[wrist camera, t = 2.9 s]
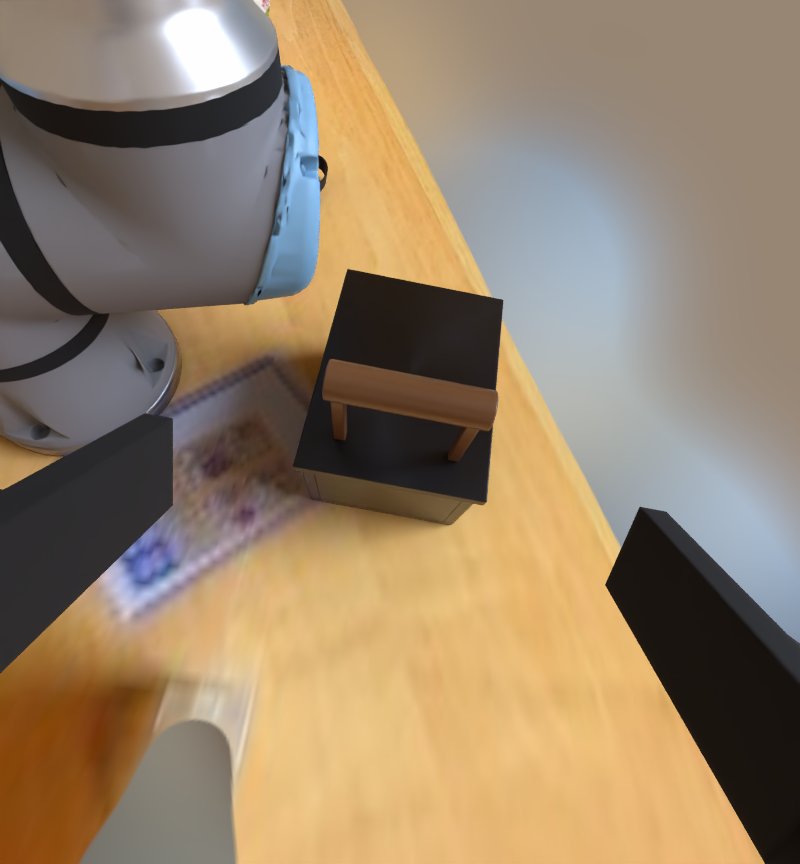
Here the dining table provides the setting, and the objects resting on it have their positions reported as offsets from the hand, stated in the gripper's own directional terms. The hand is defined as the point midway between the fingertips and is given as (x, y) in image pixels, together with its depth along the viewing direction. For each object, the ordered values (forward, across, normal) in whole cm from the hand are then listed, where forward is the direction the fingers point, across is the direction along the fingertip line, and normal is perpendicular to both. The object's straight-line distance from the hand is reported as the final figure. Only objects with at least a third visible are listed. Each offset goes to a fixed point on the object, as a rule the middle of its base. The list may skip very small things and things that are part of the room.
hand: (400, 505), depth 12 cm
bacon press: (+18, 0, -1) cm, 18 cm away
